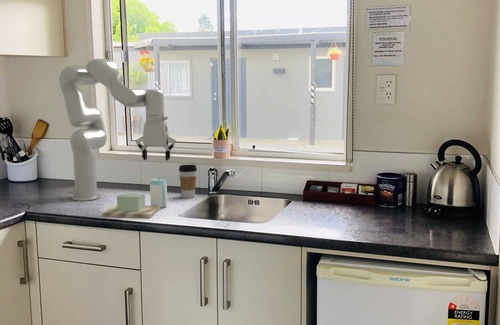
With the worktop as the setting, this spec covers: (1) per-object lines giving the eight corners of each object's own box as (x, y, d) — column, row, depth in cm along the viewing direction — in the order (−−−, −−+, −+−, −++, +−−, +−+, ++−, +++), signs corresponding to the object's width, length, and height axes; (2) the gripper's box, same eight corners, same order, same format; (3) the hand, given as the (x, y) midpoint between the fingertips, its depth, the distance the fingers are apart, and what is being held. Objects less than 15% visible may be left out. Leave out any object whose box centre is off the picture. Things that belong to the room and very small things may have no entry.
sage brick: (117, 210, 221) (117, 196, 221) (124, 206, 228) (124, 192, 227) (138, 211, 220) (138, 197, 219) (145, 207, 227) (144, 193, 226)
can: (147, 206, 235) (146, 179, 233) (160, 204, 240) (160, 177, 238) (157, 209, 230) (156, 181, 228) (170, 206, 235) (169, 179, 233)
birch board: (101, 216, 218) (101, 212, 218) (114, 208, 232) (114, 204, 232) (150, 218, 216) (150, 214, 216) (160, 209, 230) (160, 206, 230)
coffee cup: (188, 199, 249) (188, 166, 247) (175, 197, 254) (174, 165, 252) (201, 196, 255) (200, 164, 253) (188, 194, 261) (187, 162, 258)
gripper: (177, 118, 231) (178, 158, 234) (138, 118, 233) (139, 158, 236) (172, 120, 224) (173, 161, 226) (132, 119, 226) (133, 160, 229)
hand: (156, 159), depth 231 cm, fingers open, 9 cm apart
